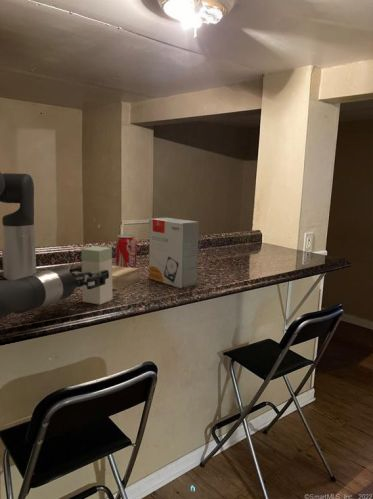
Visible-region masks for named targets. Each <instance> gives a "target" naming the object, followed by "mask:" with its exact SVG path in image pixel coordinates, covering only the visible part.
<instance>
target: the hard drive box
mask: <svg viewBox="0 0 373 499" xmlns="http://www.w3.org/2000/svg"><path fill="white" fill-rule="evenodd" d="M148 220H149V221H148V224H149V225H148V226H149V227H148V228H149V230H148V233H149V234H148V235H149V238H148V247H149V248H148V254H149V255H148V258H149V259H148V261H149V262H148V273H149V274H148V276H149V277H148V279H149V280H153V281H155V282H160V283H162V284H166V285H169V286H171V285H172V286H171V287H175V288H177V289H178V288H179V289H183V287H184V288H188V287H192V286H196V285H198V271H199V270H198V269H199V267H198V265H199V235H200V234H199V233H200V232H199V230H200V222H199V221H195V220H188V219H180V218H172V217H155V218H153V217H152V218H149V219H148Z"/></svg>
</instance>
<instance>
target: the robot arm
mask: <svg viewBox="0 0 373 499" xmlns="http://www.w3.org/2000/svg"><path fill="white" fill-rule="evenodd" d="M34 185H35V184H34V180H33V177H32V175H30V174H27V173H15V172H14V173H6V172H5V173H1V171H0V203H5V204H19V207H18V209H17V210H15V211H14V212H12V213H9V214H5V215H4V216H3V217H2V218H1V222H2V234H3V236H2V237H3V248H2V249H1V254H2V256H1V257H2V270H3V278H5V279H4V280H3V279H2V280H0V320H2V319H3V318H5V317H7V316H8V315H11V314H24V313H27V312H30V311H33V310H36V309H37V308H41V307H46V306H49V305H51V304H54V303H57V302H60V301H62V300H65V299H67V298H69V297H71V296H72V295H73V293H74V292H75V290H78V289H81V288H83V287H87V289H93V288H96V287H99V286H102V285H104V284H105V279H108V278H109V271H108V270H104V271H101V272H97V273H91V272H89V271H88V272H82V266H75V267H72V268H70V267H69V268H66V267H63V266H56V267H52V268H49V269H46V270H40V271H38V272H37V261H36V260H37V258H36V257H37V256H36V239H35V238H36V237H35V220H34V219H35V186H34ZM84 275H87V276H88V278H87V280H85V276H84ZM92 276H93V277H92Z"/></svg>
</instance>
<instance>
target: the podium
mask: <svg viewBox="0 0 373 499" xmlns="http://www.w3.org/2000/svg"><path fill="white" fill-rule="evenodd" d="M138 282H140V268H129V267H120V266H116V265H112V290H116V291H118V290H121V289H123V288H127V287H128V286H131V285H133V284H135V283H138Z"/></svg>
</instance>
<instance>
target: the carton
mask: <svg viewBox="0 0 373 499" xmlns="http://www.w3.org/2000/svg"><path fill="white" fill-rule="evenodd" d="M112 248H113V247H107V246H105V247H103V246H94V245H93V246H89V247H85V248H82V249H81V267H82V272H88V271H89V272H91V273H97V272H101V271H104V270H108V271H109V278H108V279H105V284H104V285H102V286H99V287H96V288H93V289H87V287H82V302H84V303H90V304H95V305H102V304H105V303H107V302H109V301H111V300H113V297H114V296H113V289H112V266H113V250H112ZM84 276H85V280H87V278H88V276H87V275H84ZM92 277H93V276H92Z"/></svg>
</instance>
